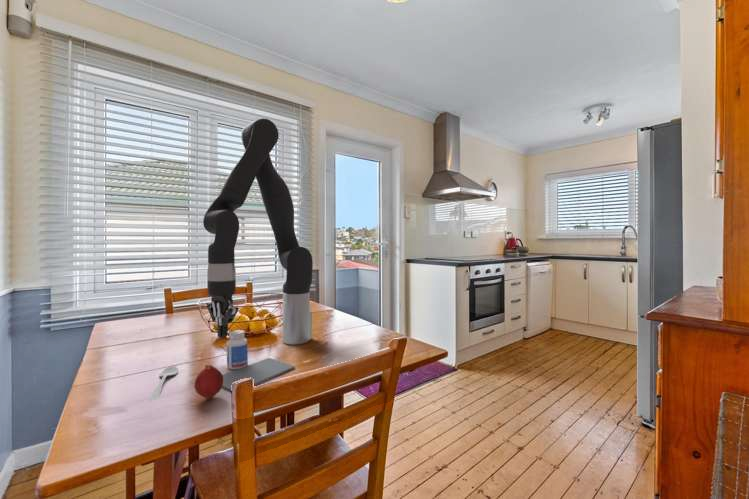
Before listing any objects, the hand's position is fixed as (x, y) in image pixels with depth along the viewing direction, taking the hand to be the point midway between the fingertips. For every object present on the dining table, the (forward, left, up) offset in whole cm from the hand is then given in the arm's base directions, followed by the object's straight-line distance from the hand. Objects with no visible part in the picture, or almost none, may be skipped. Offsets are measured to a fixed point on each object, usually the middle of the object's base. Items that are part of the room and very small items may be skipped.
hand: (222, 336), depth 96 cm
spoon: (+18, +3, -8) cm, 20 cm away
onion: (+15, +19, -7) cm, 25 cm away
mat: (+1, +16, -7) cm, 18 cm away
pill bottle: (0, +7, -7) cm, 10 cm away
